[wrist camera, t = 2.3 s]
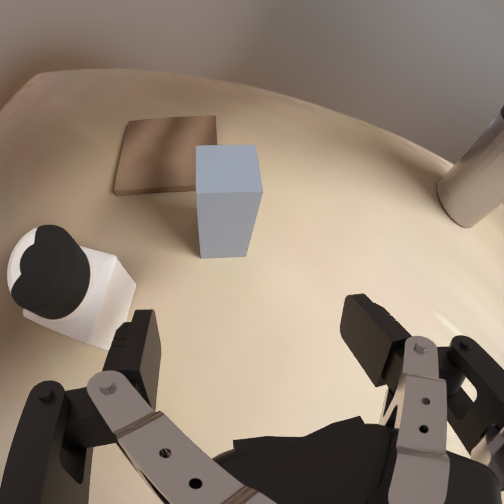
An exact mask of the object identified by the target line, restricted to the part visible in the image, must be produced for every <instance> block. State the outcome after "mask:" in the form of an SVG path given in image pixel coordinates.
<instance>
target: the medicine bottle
mask: <svg viewBox="0 0 504 504" xmlns="http://www.w3.org/2000/svg"><path fill="white" fill-rule="evenodd" d="M7 281H8V287H9V291H10V293H11V296H12V297H13V299H14V300H15V302H16V303H17V304H18V305H19V306H21V307H22V308H24V309H23V315H24V316H25V317H26V318H28V319H30V320H32V321H34V322H36V323H38V324H41V325H43V326H45V327H47V328H50V329H52V330H54V331H56V332H59V333H61V334H64V335H66V336H68V337H71V338H73V339H76V340H78V341H81V342H84V343H86V344H89V345H92V346H95V347H98V348H101V349H104V350H108V351H109V349H110V347H111V343H112V340H113V338H114V335H115V332H116V330H117V329H118V328H119V327H120V326H121V325H122V324H123V323H124V322H126V320H127V316H128V313H129V309H130V306H131V303H132V299H133V296H134V292H135V289H136V283H135V281H134V280H133V279H132V277H131V276H130V275H129V273H128V272H127V270H126V269H125V268H124V266H123V265H122V263H121V262H120V261H119V259H118V258H117V256H115V255H113V254H109V253H105V252H101V251H97V250H94V249H90V248H86V247H82V246H79V245H78V244H77V243H76V242H75V240H74V239H73V238H72V237H71V236H70V234H69V233H68V232H67V231H66V230H64V229H63V228H61V227H59V226H56V225H43V226H40V227H37V228H35V229H33V230H31V231H29V232H28V233H27V234H25V235H24V236H23V237H22V238H21V239H20V240H19V242H18V243H17V244H16V246H15V248H14V249H13V251H12V254H11V256H10V259H9V263H8V269H7Z"/></svg>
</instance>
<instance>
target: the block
mask: <svg viewBox="0 0 504 504" xmlns="http://www.w3.org/2000/svg"><path fill="white" fill-rule="evenodd" d="M262 194H263V189H262V182H261V176H260V170H259V164H258V158H257V152H256V146H255V145H203V146H196V202H197V217H198V231H199V243H200V255H201V259H204V258H224V257H244V256H246V254H247V250H248V246H249V243H250V239H251V235H252V231H253V227H254V224H255V220H256V216H257V212H258V209H259V205H260V201H261V197H262Z"/></svg>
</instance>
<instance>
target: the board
mask: <svg viewBox="0 0 504 504" xmlns="http://www.w3.org/2000/svg"><path fill="white" fill-rule="evenodd" d="M203 145H217V134H216V116H191V117H172V118H158V119H147V120H137V121H129V123H128V127H127V131H126V135H125V139H124V143H123V147H122V152H121V156H120V161H119V166H118V171H117V176H116V181H115V186H114V193H115V195H116V196H121V195H133V194H146V193H161V192H178V191H196V146H203Z"/></svg>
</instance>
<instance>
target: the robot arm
mask: <svg viewBox="0 0 504 504" xmlns="http://www.w3.org/2000/svg"><path fill="white" fill-rule="evenodd" d="M437 191H438V196H439V199H440V201H441V203H442V205H443V207H444V209H445V210H446V212H447V213H448V214H449V216H450V217H451V218H452V219H453V220H454V221H455V222H457V223H458V224H459V225H461V226H463V227H466V228H471V227H473V226H474V225H475V224H477V223H478V222H479V221H480V220H482V219H483V218H484V217H485V216H487V215H488V214H489V213H490V212H492V211H493V210H494V209H495V208H496V207H498V206H499V205H500V204H501V203H502V202H504V106H503V108H502V109H501V111H500V112H499V113H498V114H497V115H496V117H495V118H494V119H493V120H492V122H491V123H490V124H489V126H488V127H487V128H486V129H485V131H484V132H483V133H482V134H481V135H480V136H479V138H478V139H477V140H476V142H474V144H473V145H472V146H471V147H470V148H469V149H468V150H467V152H466V153H465V154H464V155H463V156H462V157H461V159H460V160H459V161H458V162H457V163H456V164H455V165H454V166H453V167H452V168H451V169H450V171H449V172H448V173H447V174H446V175H445V176H444V177H443V178H442V179H441V180H440V182H439V183H438V186H437ZM340 333H341V337H342V339H343V340H344V342H345V343H346V344H347V346H348V347H349V349H350V350H351V352H352V353H353V355H354V356H355V358H356V359H357V360H358V362H359V363H360V365H361V366H362V368H363V369H364V371H365V372H366V374H367V375H368V377H369V378H370V380H371V381H372V383H373V384H374V385H375V387H379V386H382V385H385V384H387V386H388V388H387V390H386V393H385V398H384V403H383V408H382V412H381V417H380V421H379V424H364V422H363V420H362V418H361V417H360V416H358V417H354V418H351V419H347V420H343V421H339V422H335V423H332V424H330V425H328V426H326V427H324V428H322V429H320V430H317V431H315V432H313V433H311V434H309V435H307V436H304V437H275V436H264V437H257V438H248V439H239V440H233V448H234V449H232V450H229V451H226V452H224V453H222V454H219V455H218V456H216V457H214V458H212V459H211V458H210V457H209V456H208V455H207V454H205V453H204V452H203V451H202V450H201V449H200V448H199V447H198V446H197V445H196V444H194V443H193V442H192V441H191V440H190V439H189V438H188V437H187V436H186V435H185V434H184V433H183V432H182V431H181V430H180V429H179V428H178V427H177V426H176V425H175V424H174V423H173V422H172V421H171V420H170V419H169V418H168V417H167V416H166V415H165V414H164V413H163V412H161V411H158V412H155V409H156V397H157V387H158V377H159V368H160V360H161V343H160V337H159V332H158V327H157V321H156V316H155V311H154V310H153V309H150V310H135V312H134V315H133V319H132V322H124V323H123V324H122V325H121V326H120V327H119V328H118V329H117V330H116V332H115V335H114V338H113V340H112V343H111V347H110V349H109V352H108V355H107V358H106V361H105V364H104V367H103V370H102V372H100V373H97V374H95V375H94V376H93V377H92V378H91V379H90V380H89V382H88V384H87V387H84V388H80V389H74V390H68V391H65V390H64V388H63V386H62V385H61V384H60V383H58V382H56V381H43V382H41V383H39V384H37V385H36V386H34V387H33V389H32V390H31V392H30V394H29V396H28V399H27V401H26V404H25V406H24V409H23V412H22V415H21V417H20V420H19V423H18V426H17V429H16V432H15V435H14V438H13V441H12V445H11V448H10V451H9V455H8V458H7V462H6V466H5V470H4V474H3V478H2V483H1V487H0V504H88V500H89V485H90V473H91V463H92V455H93V447H96V446H101V445H107V444H112V443H116V444H117V446H118V447H119V449H120V450H121V451H122V453H123V454H124V456H125V457H126V458H127V460H128V461H129V462H130V464H131V465H132V466H133V467H134V469H135V470H136V471H137V472H138V474H139V475H140V476H141V477H142V479H143V480H144V481H145V483H146V484H147V485H148V486H149V488H150V489H151V490H152V491H153V492H154V494H155V495H156V496H157V497H158V498H159V499H160V500H161V501H162V502H163V504H502V499H501V491H504V370H503V369H502V368H501V367H500V366H499V364H498V363H497V362H496V361H495V360H494V359H493V358H492V357H491V356H490V355H489V354H488V353H487V352H486V351H485V350H484V349H483V348H482V347H481V346H480V345H479V344H478V343H477V342H475V341H474V340H473V339H471V338H469V337H467V336H462V335H459V336H455V337H453V339H452V341H451V343H450V346H449V347H436V345H435V344H434V342H432V341H431V340H429V339H428V338H425V337H421V336H413V337H412V336H411V335H410V334H409V333H408V332H407V331H406V330H405V329H404V328H403V327H402V325H401V324H400V323H399V322H398V321H396V319H395V318H394V317H393V316H390V313H389V312H388V311H387V310H386V309H385V308H383V307H381V306H380V305H378V304H376V303H373V302H372V301H371V300H370V299H369V298H368V297H367V296H366V295H365V294H363V293H362V294H354V295H348V296H347V297H346V298H345V302H344V307H343V313H342V318H341V323H340ZM466 377H467V378H468V380H469V381H470V382H471V383H472V384H473V386H474V387H475V388H476V390H477V398H476V400H475V402H474V403H473V401H472V400H471V399H470V397H469V396H468V395H467V394H466V392H465V391H464V390H463V389H462V387H461V385H462V383H463V381H464V380H465V378H466ZM447 421H448V422H449V424H450V425H451V427H452V428H453V430H454V431H455V433H456V434H457V436H458V437H459V439H460V440H461V442H462V443H463V445H464V446H465V448H466V450H467V451H468V453H469V454H470V456H471V459H469V458H466V457H463V456H460V455H457V454H455V453H452V452H449V451H447V450H446V435H447Z"/></svg>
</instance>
